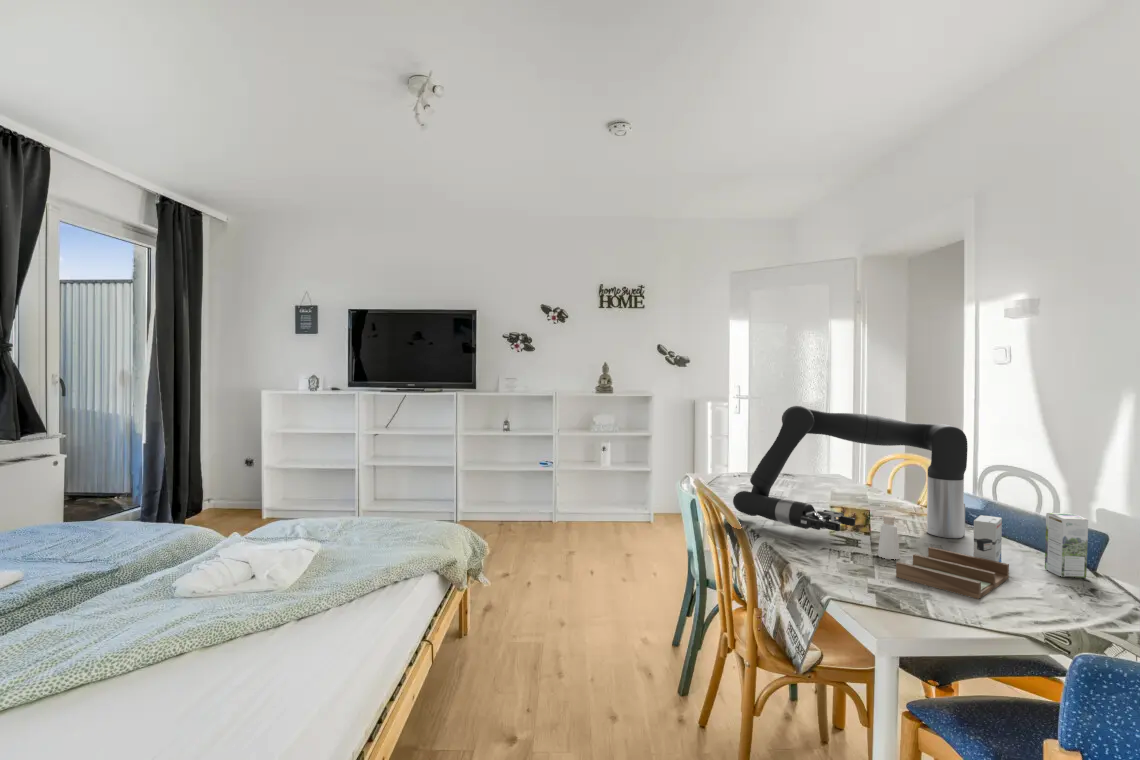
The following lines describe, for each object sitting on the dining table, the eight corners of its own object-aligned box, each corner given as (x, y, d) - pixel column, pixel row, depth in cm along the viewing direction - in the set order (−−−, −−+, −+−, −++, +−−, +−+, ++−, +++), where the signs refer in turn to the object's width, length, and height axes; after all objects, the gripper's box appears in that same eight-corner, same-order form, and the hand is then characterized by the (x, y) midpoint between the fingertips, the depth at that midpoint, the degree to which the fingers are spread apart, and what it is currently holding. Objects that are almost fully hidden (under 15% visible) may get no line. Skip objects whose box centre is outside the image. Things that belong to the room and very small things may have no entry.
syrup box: (1068, 570, 143) (1069, 512, 143) (1087, 578, 137) (1088, 518, 137) (1044, 569, 144) (1044, 511, 143) (1061, 578, 138) (1062, 517, 137)
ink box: (979, 558, 152) (979, 514, 152) (1002, 562, 149) (1002, 517, 149) (972, 565, 146) (972, 520, 146) (995, 570, 143) (996, 523, 143)
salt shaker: (892, 553, 156) (892, 513, 156) (904, 559, 151) (905, 518, 151) (873, 553, 156) (873, 513, 156) (884, 560, 151) (884, 518, 151)
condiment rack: (930, 560, 151) (930, 546, 151) (1008, 578, 137) (1008, 564, 137) (896, 576, 139) (896, 562, 139) (978, 599, 125) (978, 583, 125)
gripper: (781, 504, 171) (834, 515, 158) (807, 498, 179) (859, 508, 167) (781, 529, 171) (834, 542, 158) (807, 521, 180) (859, 533, 167)
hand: (847, 525), depth 162 cm, fingers open, 8 cm apart
